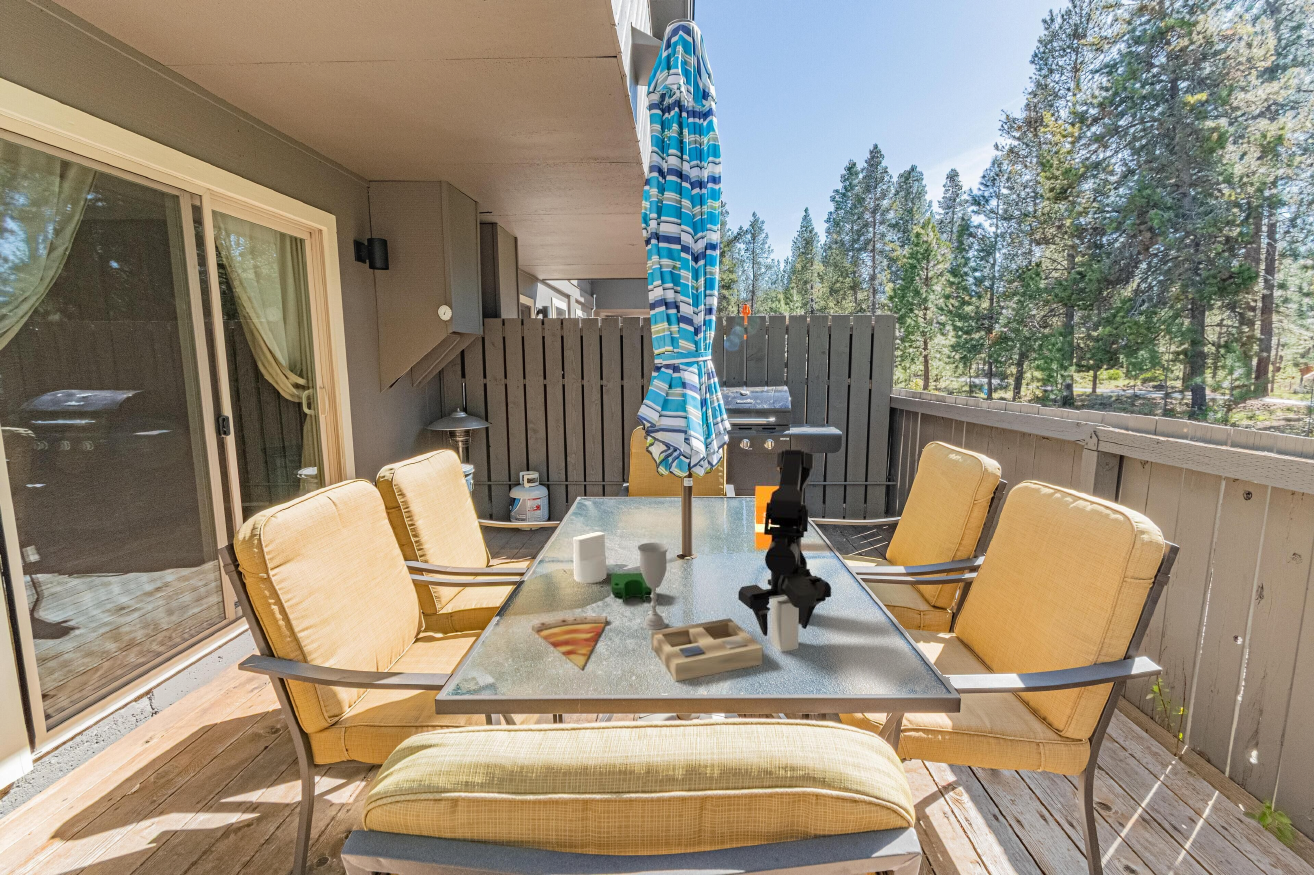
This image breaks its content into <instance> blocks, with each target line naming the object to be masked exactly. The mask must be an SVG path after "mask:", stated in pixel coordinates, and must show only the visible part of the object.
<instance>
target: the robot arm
mask: <svg viewBox="0 0 1314 875" xmlns="http://www.w3.org/2000/svg"><path fill="white" fill-rule="evenodd" d="M814 468H815V457H814V454H813V453H811V452H809V451H805V450H802V449H801V448H800V449H797V448H794V449H792V448H790V449H789V448H785V449H782V450H781V452H778V453H776V470H777V471H779V474H780V477H779V484H778V486H779V488H778V489H776V490H775V491H773V492H772V494H771V498H770V502H767V505H766V516H765V527H764V535H771V543H770V546H769V548H768V551H766V553H765V555H764V562H765V566H766V568H767V569H768V570H769V571H770V578H769V579H767V585H768V586H770V588H765V589H764V588H762V587H760V586H759V585H758V584H750V585H745V586H741V587H740V589H739V590H738V596H737V597H738V598H737V599H738V600H739V602H740V603H742V604H743V605H745V606H746V607H747V608H748V609H749V610H752V612H753V614H754V616H755V618H756V621H757V623H758V626H759V629H760V630H761V633H762V635H763V636H765V637H767V636H768V633H769V632H768V631H769V627H768V625H769V624H768V623H769V622H768V621H769V620H768V613H769V612H770V611H771V607H769V605H770V599H772V598H778V597H784V596H787V597H788V599H789V600H790V601H791V604H792V605H793V606H794V607H796V608H799V622H800V623H801V624H800V625H801V629H805V630H806V629H807V627H808V625H809V622H810V620H811V618H812V615H813V613H814V611H815V609H816V608H817V606H818V605H819V604H821V603H822V602H825V601H826V599H827V598H831V597H832V586H831V585H830V583H829V582H828V581H826V580H825V579H823V578H822V577H819V576H817V575H812V574H811V569H810V568H808V562H807V560H806V557H805V556H804V554H803V551H802V538H804V537H805V533H807V532H808V529H809V528H808V527H809V515H810V514H809V509H808V508H807V504H804V490H805V488H806V487H807V485H808V484H809V483H810V481H811V475H812V472H814ZM770 520H771V521H770ZM769 521H770V524H771V525H776V526H779V527H775V526H770V529H768V528H769Z"/></svg>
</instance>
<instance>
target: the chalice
mask: <svg viewBox="0 0 1314 875" xmlns="http://www.w3.org/2000/svg"><path fill="white" fill-rule="evenodd" d="M637 550H638V551H639V562H640V564H639V566H640V567H639V568H640V569H639V570H640V571H641V572H640V573H642V575H643V578H644V580H645V582H646V584H647V586H648V587H649V588H651V589H652V594H651V596H650V598H651V602H650V607H651V611H650V612H649V613H648V614H647V615H646V617H645V619H644V622H643V624H642V626H643V628H645V629H647V630H651V631H657V630H663V629H665V627H666V623H665V620H664V619H663V616H662V614H661V613H660V612H658V611H657V606H658V605H659V603H658V602H657V599H658V594H657V589H658V588H660V587H661V585H662V583H663V580H664V578H665V575H666V573H667V568H668V566H667V552H668V550H669V546H668V545H667V544H665V543H662V542H645V543H640V544H639V545H638V546H637Z"/></svg>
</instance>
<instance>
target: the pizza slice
mask: <svg viewBox="0 0 1314 875" xmlns="http://www.w3.org/2000/svg"><path fill="white" fill-rule="evenodd" d="M607 622H608V617H607V615H583V616H571V617H570V616H569V617H564V618H563V617H562V618H557V619H551V620H548V621H547V620H546V621H542V622H538V623H534V624H532V626H531V631H532V632H533V631H534V632H535V633H534V632H533V633H534V634H536V635H537V636H538V637H539V636H540V638H541V639H542V640H543V641H544V642H546V643H547V644H548V645H550V646H551V648H553V649H554V650H556V651H557V652H558V653H559V654H561V656H563V657H564V658H565V659H566V660H568V661H569V662H570V663H572V664H573V665H574V666H575V667H576V668H578V669H579V670H580V671H583V669H584V667H585V665H586V663H587V661H588V659H589V657H590V655H591V653H592V651H593V650H594V647H595V645H596V643H597V642H598V640H599V638H600V636H601V634H602V632H603V630H604V628H605V626H606V624H607Z"/></svg>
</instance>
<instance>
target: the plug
mask: <svg viewBox="0 0 1314 875" xmlns="http://www.w3.org/2000/svg"><path fill="white" fill-rule="evenodd" d="M770 602H771V604H770V605H771V606H770V611H771V613H770V644H771V645H772V646H773V647H775V649H777V650H778V651H779V652H781V653H783V652H787V651H793V650H798V649H799V622H800V621H799V608H796V607H794V606H793V605H792V604H791V601H790V600H789V599H788V597H787V596H784V597H778V598H772V599H771V601H770Z"/></svg>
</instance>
